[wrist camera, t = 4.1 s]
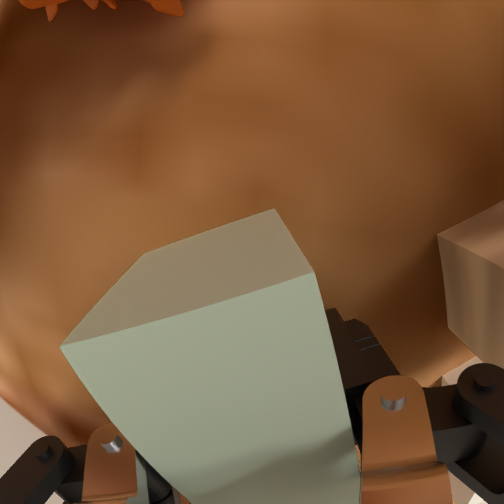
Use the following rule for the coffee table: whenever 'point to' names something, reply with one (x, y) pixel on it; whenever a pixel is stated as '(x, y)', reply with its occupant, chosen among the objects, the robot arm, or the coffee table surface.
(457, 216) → the coffee table surface
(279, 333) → the sage brick
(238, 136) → the coffee table surface
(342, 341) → the robot arm
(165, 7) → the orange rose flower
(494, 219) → the oak brick
